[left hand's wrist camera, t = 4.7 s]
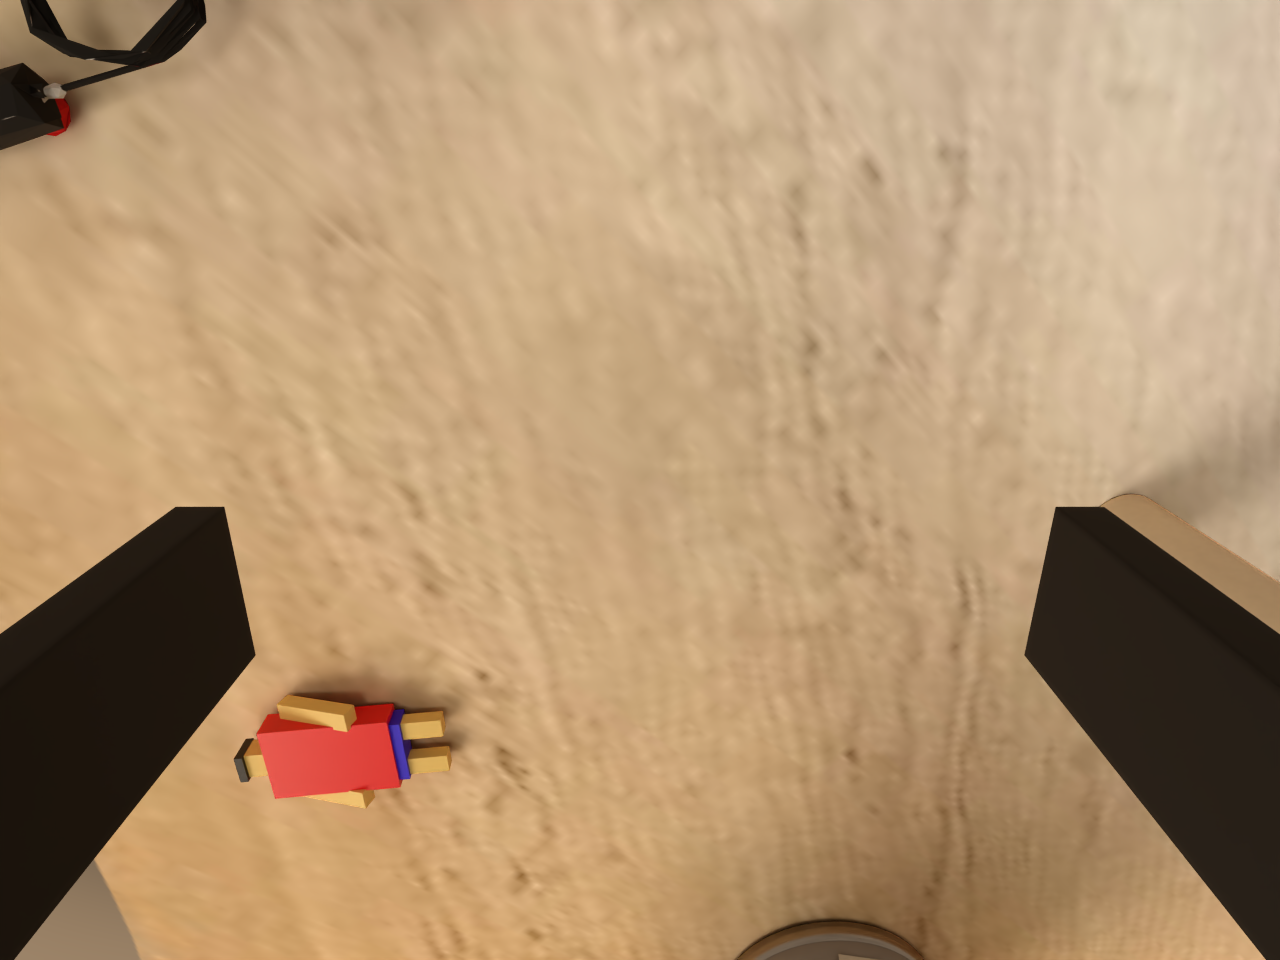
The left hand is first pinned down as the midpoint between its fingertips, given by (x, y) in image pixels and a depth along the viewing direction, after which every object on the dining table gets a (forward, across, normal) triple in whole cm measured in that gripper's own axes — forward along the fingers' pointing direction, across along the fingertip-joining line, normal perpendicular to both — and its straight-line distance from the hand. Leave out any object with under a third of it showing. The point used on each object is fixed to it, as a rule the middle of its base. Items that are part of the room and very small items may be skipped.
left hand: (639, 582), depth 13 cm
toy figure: (+28, +18, +26) cm, 42 cm away
